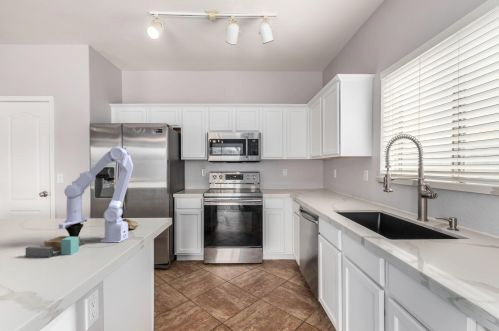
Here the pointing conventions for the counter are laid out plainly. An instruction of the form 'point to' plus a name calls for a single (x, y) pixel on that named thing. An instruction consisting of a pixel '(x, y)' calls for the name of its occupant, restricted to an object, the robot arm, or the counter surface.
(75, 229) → the robot arm
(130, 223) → the decorative stone
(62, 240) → the aqua rectangular prism
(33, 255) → the backstop
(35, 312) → the counter surface
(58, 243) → the brown rectangular frame
